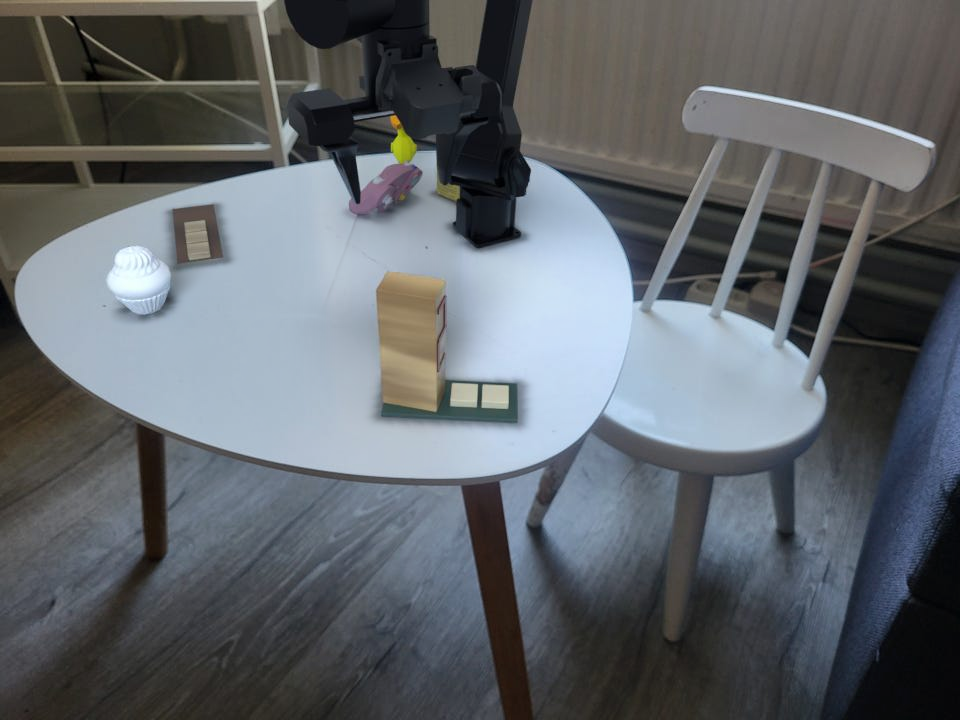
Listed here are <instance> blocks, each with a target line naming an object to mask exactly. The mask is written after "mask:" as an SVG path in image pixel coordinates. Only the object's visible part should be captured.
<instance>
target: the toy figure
mask: <svg viewBox="0 0 960 720" xmlns="http://www.w3.org/2000/svg"><path fill="white" fill-rule="evenodd" d="M389 119H390V125H391V126H392V128H393V129H394V130H396V131H397V136H396V137H395V139H394V140H393V142H390V153H393V156H394V157H395V159H396V161H397V162H398V164H403V163H404V162H405V161H406V160H408V162H409V163H411V162H412V160H413V158H414V157H415V156H416V154H417V150H418V145H417V144H416V143H415V142H414V141H413V138H411V137H409V136H408V135H407V134H406V133H405V131H404V130H403V126H402V124H401V123H400V121H399V120H398V118H397V116H396V115H394V116H389Z"/></svg>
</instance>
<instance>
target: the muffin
mask: <svg viewBox="0 0 960 720" xmlns="http://www.w3.org/2000/svg"><path fill="white" fill-rule="evenodd" d="M113 261H114V264H113V266H112V268H111V269H110V271H109V272H108V274H107V276H106V280H105V281H106V285H107V288H108V290H109V291H110V292H111V294H113V296H114V297H115V298H116V300H118V301H119V302H120V303H122V304H123V305H124V306H125V307H126V308H128V309H129V310H130V311H131V312H132V313H134V314H136V315H142V316H143V315H145V316H146V315H150V314H153V313H156V312H159V311H160V310H161V309H162V308H163V305H165V303H166V300H167V297H168V294H169V291H170V288H171V281H172V280H171V279H172V272H171V269H170V267H169V266H168V264H166V262H164V261H162V260H161V259H158V258H157V257H155V256H154V255H153V253H152V251H151V250H150V249H149V248H147V247H144V246H142V245H131V246H130V245H129V246H127V247H123V248H122V249H120V250H119V251H118V252H117V253H116V254H115V256H114V259H113Z"/></svg>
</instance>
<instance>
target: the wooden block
mask: <svg viewBox="0 0 960 720" xmlns="http://www.w3.org/2000/svg"><path fill="white" fill-rule="evenodd" d="M376 287H377V288H376V289H375V298H376V313H377V314H376V315H377V330H378V346H379V347H378V349H379V361H380V377H381V378H380V379H381V393H382V394H381V395H382V404H383V403H389V404H394V405H400V406H405V407H411V408H417V409H422V410H428V411H433V412H437V410H438V407H439V405H440V402H441V400H442V397H443V395H444V393H445V380H446V330H447V318H448V317H447V314H448V313H447V307H448V306H447V305H448V304H447V303H448V302H447V299H448V298H447V297H448V296H447V291H446V290H447V280H446V279H442V278H435V277H429V276H423V275H418V274H417V275H416V274H410V273H403V272H396V271H390V270H388V271H386V273H385V274H384V276H383V278H382V280H381V281H380V282H379V284H378V285H377V286H376Z"/></svg>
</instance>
